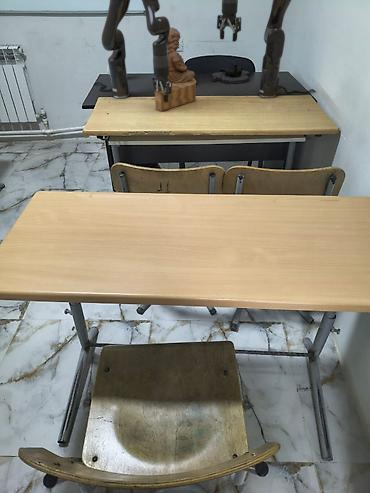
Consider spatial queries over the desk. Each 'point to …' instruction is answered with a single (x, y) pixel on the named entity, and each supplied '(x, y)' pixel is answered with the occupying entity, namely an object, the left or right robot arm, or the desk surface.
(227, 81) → the abstract sculpture
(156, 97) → the bar
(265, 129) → the desk surface
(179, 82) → the sculpture
